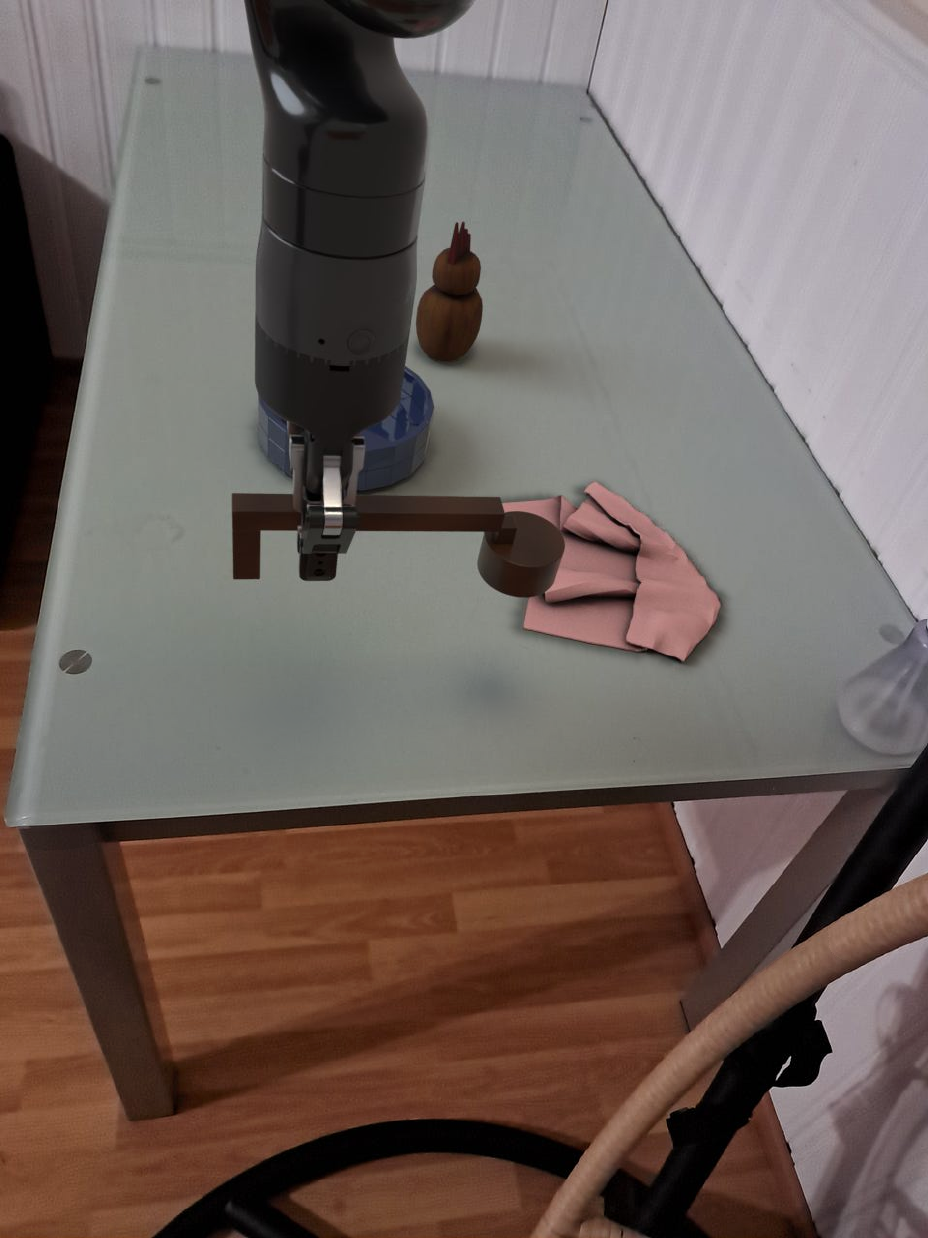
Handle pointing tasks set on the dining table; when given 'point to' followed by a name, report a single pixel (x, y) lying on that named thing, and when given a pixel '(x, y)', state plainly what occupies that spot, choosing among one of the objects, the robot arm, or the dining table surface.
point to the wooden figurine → (451, 302)
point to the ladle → (510, 551)
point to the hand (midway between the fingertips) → (315, 563)
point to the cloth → (619, 580)
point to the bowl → (370, 437)
